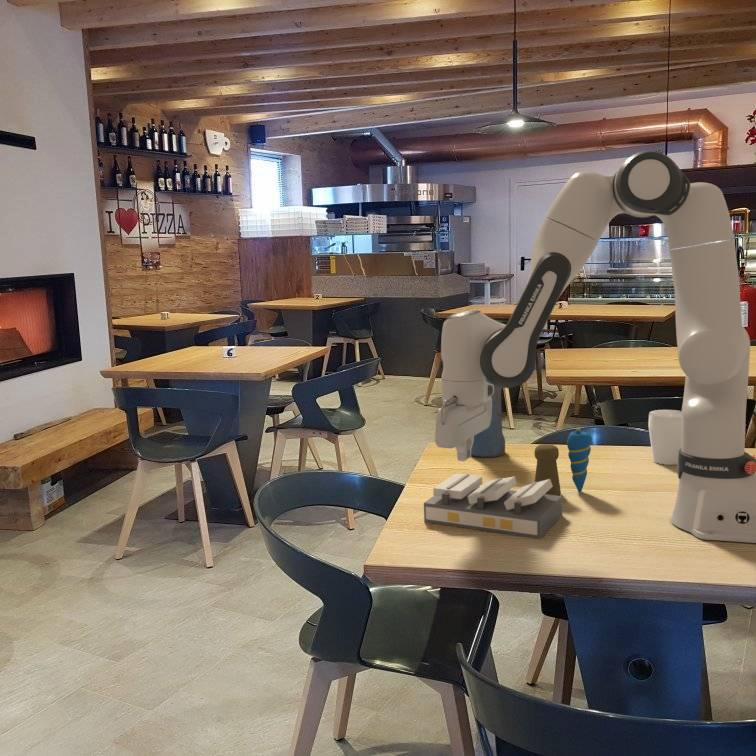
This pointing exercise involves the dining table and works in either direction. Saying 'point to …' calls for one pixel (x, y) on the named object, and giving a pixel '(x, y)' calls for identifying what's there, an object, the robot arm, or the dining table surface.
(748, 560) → the dining table surface
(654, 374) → the dining table surface
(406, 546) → the dining table surface
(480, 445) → the bottle
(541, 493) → the panel
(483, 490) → the rocker
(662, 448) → the cup
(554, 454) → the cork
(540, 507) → the switch unit
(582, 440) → the ornament
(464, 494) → the grooved switch paddle
